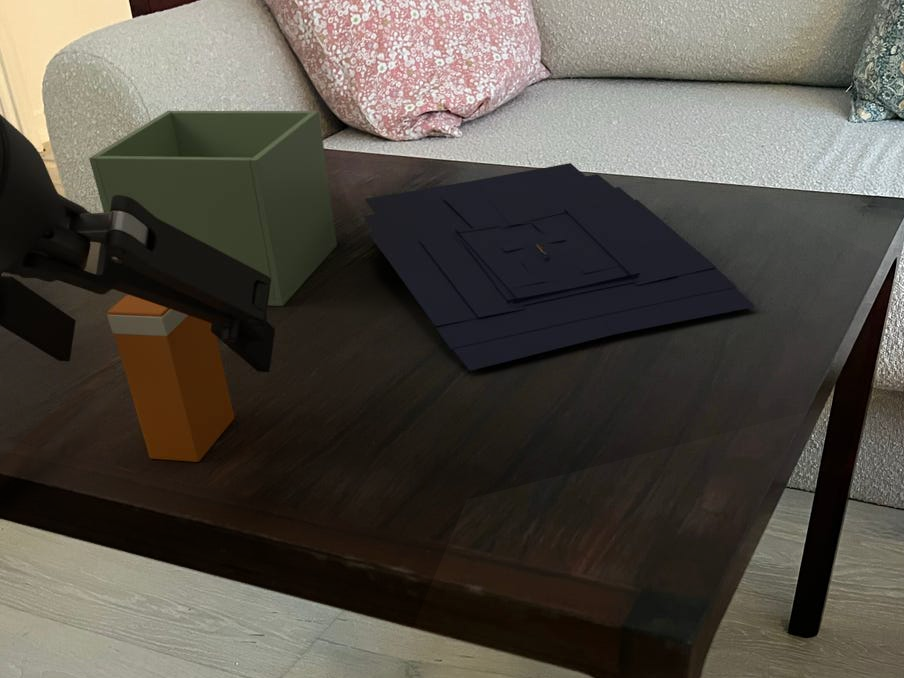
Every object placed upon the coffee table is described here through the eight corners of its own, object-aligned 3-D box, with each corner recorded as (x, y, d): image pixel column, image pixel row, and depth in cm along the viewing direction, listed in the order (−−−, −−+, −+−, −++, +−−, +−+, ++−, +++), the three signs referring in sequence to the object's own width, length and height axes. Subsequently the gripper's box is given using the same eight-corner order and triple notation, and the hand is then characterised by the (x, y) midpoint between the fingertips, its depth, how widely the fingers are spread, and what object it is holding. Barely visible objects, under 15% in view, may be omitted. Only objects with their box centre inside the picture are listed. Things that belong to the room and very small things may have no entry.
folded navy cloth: (586, 188, 102) (589, 150, 100) (752, 337, 83) (761, 295, 80) (347, 232, 96) (343, 192, 94) (466, 404, 77) (465, 360, 74)
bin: (127, 300, 90) (88, 157, 82) (196, 241, 100) (167, 110, 93) (282, 306, 87) (257, 159, 80) (337, 245, 98) (318, 110, 90)
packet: (148, 459, 69) (105, 311, 62) (188, 414, 73) (151, 272, 67) (199, 463, 68) (161, 313, 61) (236, 418, 72) (204, 274, 66)
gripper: (-332, 240, 47) (-20, 393, 68) (178, 255, 42) (346, 415, 63) (-303, 80, 48) (-2, 280, 68) (204, 77, 42) (362, 294, 63)
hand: (165, 345), depth 66 cm, fingers open, 13 cm apart
